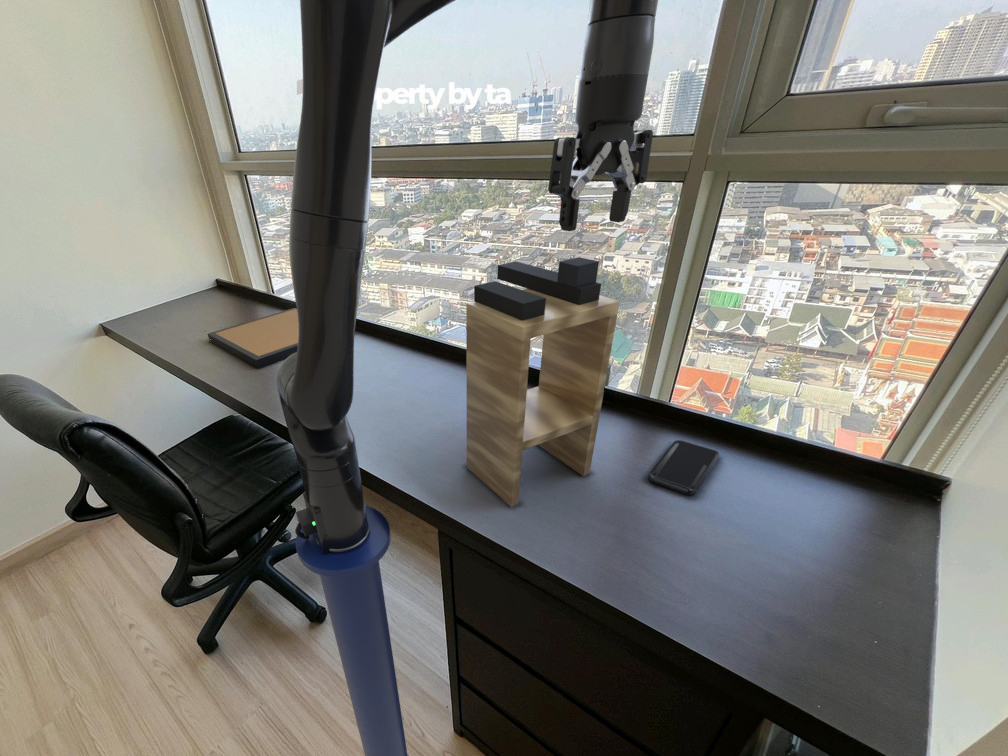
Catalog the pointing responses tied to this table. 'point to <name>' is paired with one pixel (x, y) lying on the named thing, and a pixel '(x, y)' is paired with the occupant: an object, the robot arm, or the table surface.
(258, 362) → the cork board
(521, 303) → the pad
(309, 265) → the robot arm
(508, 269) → the pad
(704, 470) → the phone
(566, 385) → the shelf
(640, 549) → the table surface
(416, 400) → the table surface
